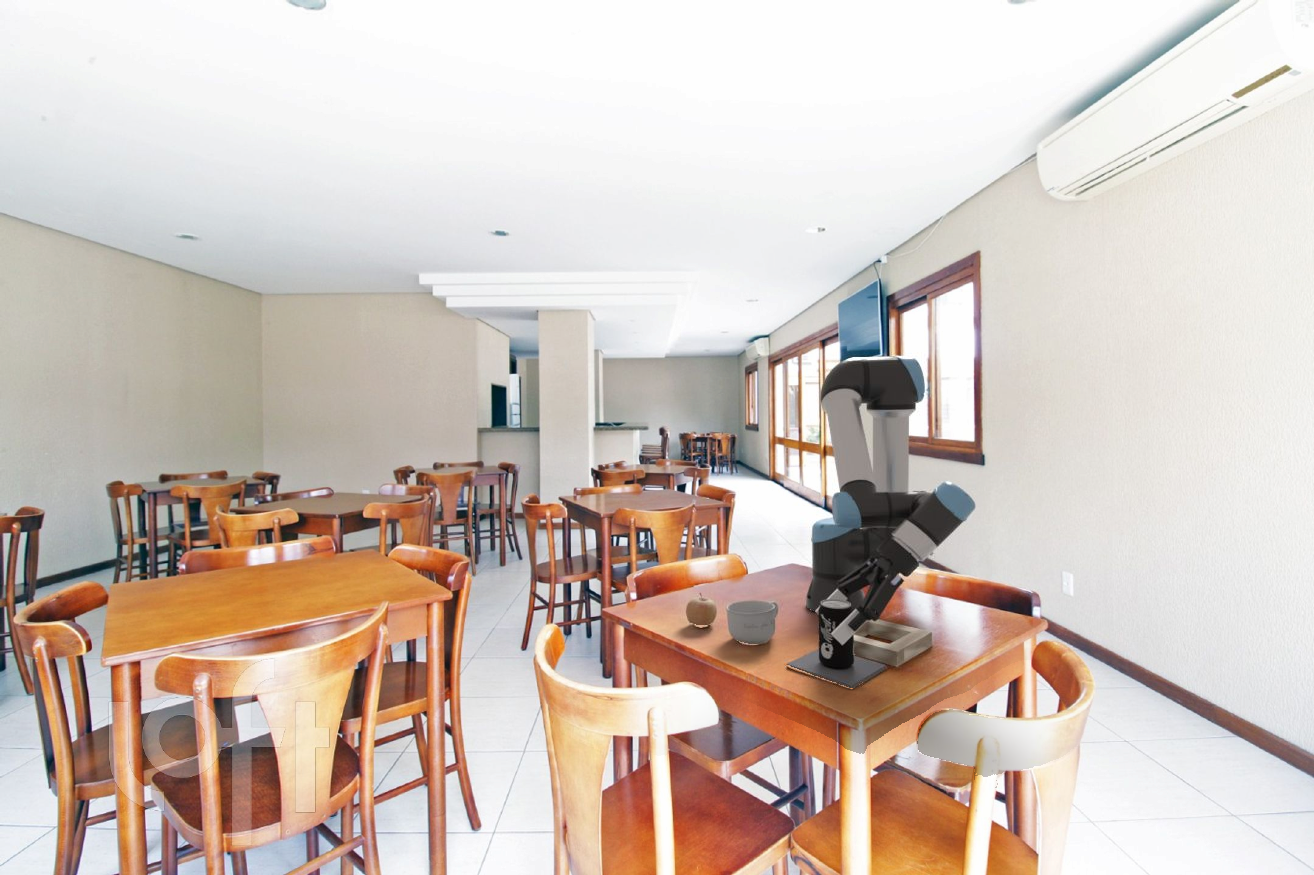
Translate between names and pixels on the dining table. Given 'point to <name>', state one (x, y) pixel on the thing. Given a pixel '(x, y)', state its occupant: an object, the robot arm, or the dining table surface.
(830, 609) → the beverage can
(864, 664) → the mat
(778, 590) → the dining table surface
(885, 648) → the can holder
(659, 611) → the dining table surface
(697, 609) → the fruit
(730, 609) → the teacup
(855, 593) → the robot arm
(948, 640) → the dining table surface
